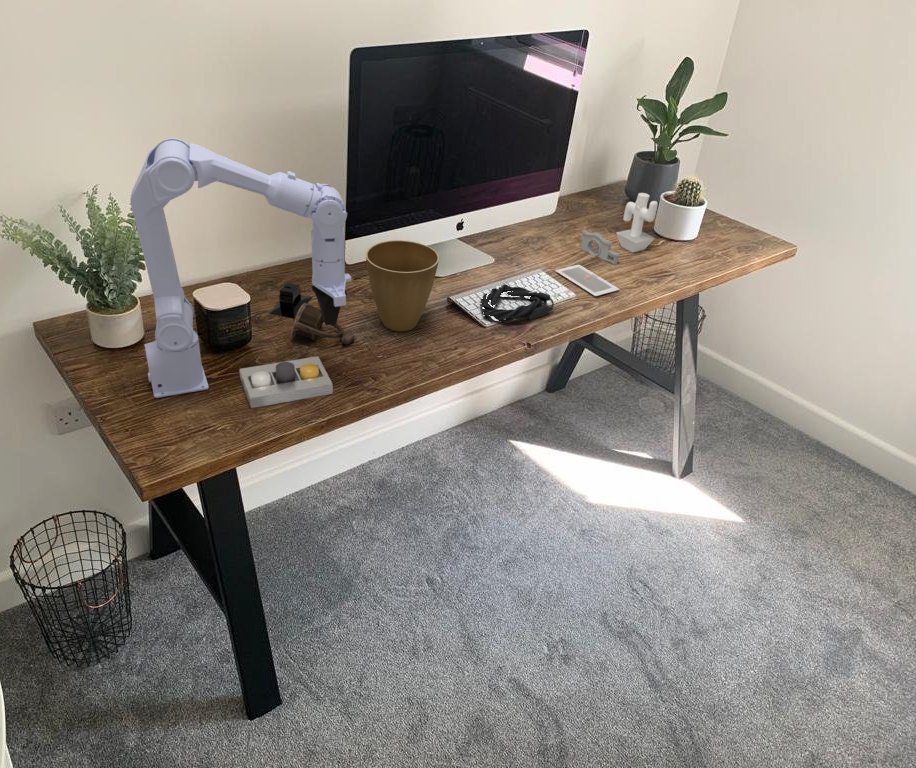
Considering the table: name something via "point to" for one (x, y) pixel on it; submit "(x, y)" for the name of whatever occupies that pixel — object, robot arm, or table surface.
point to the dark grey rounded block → (285, 372)
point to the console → (285, 384)
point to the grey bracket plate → (603, 247)
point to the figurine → (637, 224)
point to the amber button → (309, 371)
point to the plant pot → (401, 281)
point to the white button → (260, 379)
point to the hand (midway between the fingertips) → (330, 322)
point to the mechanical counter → (316, 325)
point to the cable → (520, 312)
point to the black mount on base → (290, 301)
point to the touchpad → (587, 280)
